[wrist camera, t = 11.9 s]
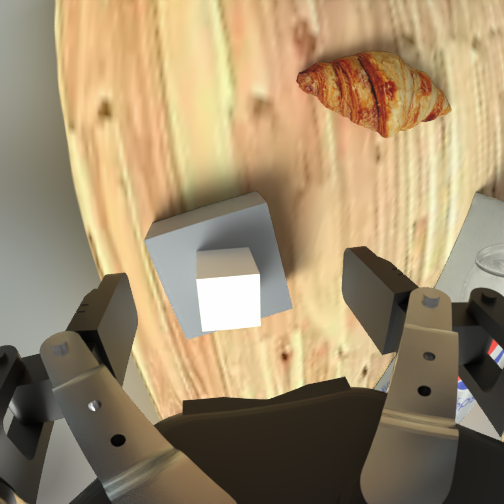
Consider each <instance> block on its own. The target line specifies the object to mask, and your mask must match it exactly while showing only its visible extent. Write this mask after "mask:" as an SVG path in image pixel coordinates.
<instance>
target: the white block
mask: <svg viewBox="0 0 504 504" xmlns="http://www.w3.org/2000/svg"><path fill="white" fill-rule="evenodd" d="M196 281H197V290H198V299H199V307H200V316H201V324H202V332H204V331H215V330H226V329H236V328H246V327H255V326H261V323H260V273H259V271H258V268H257V266H256V263H255V261H254V259H253V256H252V254H251V252H250V249H249V247H243V248H231V249H218V250H205V251H196Z"/></svg>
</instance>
